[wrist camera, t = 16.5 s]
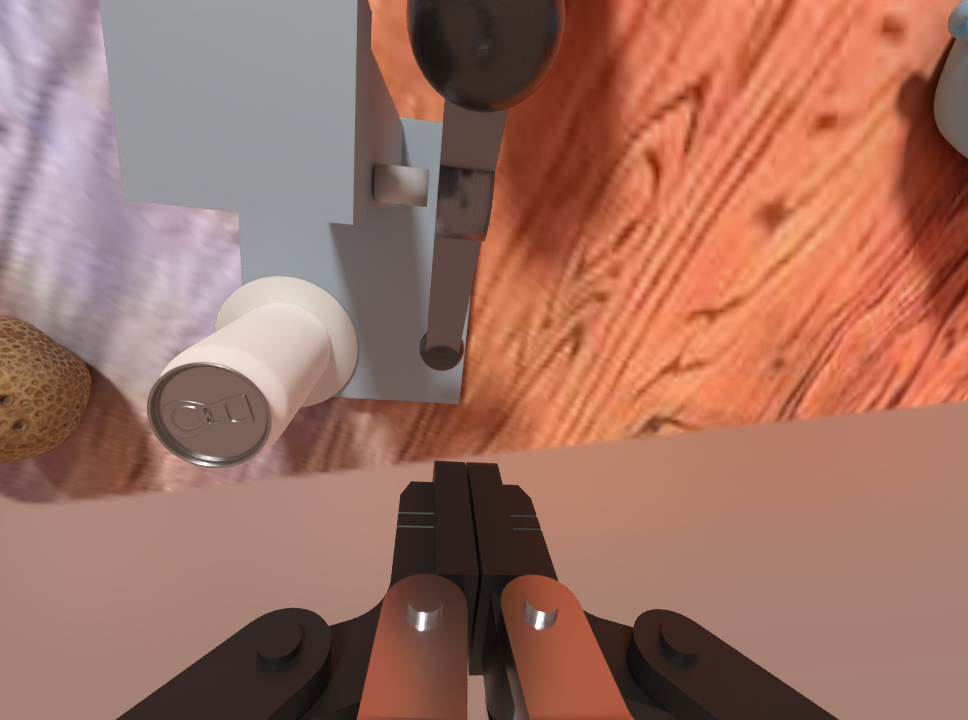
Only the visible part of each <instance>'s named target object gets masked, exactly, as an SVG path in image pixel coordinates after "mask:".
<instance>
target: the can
mask: <svg viewBox="0 0 968 720" xmlns="http://www.w3.org/2000/svg"><path fill="white" fill-rule="evenodd" d="M329 358H330V342H329V338H328V335H327V333H326V331H325V329H324V327H323V326H322V324H321V323H320V322H319V321H318V319H317V318H316V317H314V316H313V315H312V314H311V313H309V312H308V311H306V310H304V309H302V308H300V307H298V306H295V305H291V304H286V303H272V304H267V305H264V306H261V307H259V308H257V309H255V310H253V311H251V312H249V313H248V314H246V315H244V316H242V317H241V318H239V319H237V320H235V321H234V322H232V323H230V324H229V325H227V326H225V327H223V328H222V329H220V330H218V331H217V332H215V333H213V334H211V335H210V336H208V337H206V338H205V339H203V340H201V341H200V342H198V343H196V344H195V345H193V346H191V347H190V348H188V349H187V350H185V351H183V352H182V353H180V354H179V355H178V356H176V357H175V358H174V359H173V360H172V361H171V362H170V363H169V364H168V365H167V366H166V368H165V369H164V370H163V372H162V374H161V376H160V378H159V379H158V380H157V382H156V383H155V384H154V386H153V388H152V389H151V392H150V394H149V397H148V402H147V415H148V420H149V423H150V426H151V428H152V430H153V432H154V434H155V436H156V437H157V438H158V440H159V441H160V442H161V443H162V444H163V446H164V447H166V448H167V449H168V450H169V451H170V452H171V453H173V454H174V455H176V456H177V457H179V458H181V459H183V460H185V461H187V462H189V463H192V464H195V465H199V466H203V467H210V468H225V467H231V466H235V465H238V464H241V463H244V462H246V461H248V460H249V459H251V458H252V457H254V456H255V455H256V454H258V453H260V452H262V451H264V450H265V449H267V448H268V447H270V446H271V445H272V444H273V443H274V442H275V441H276V440H277V439H278V438H279V437H280V436H281V435H282V433H283V432H284V431H285V429H286V428H287V426H288V425H289V423H290V422H291V421H292V419H293V418H294V416H295V415H296V413H297V412H298V410H299V409H300V407H301V406H302V404H303V403H304V401H305V400H306V398H307V397H308V395H309V394H310V392H311V391H312V389H313V388H314V386H315V384H316V383H317V381H318V380H319V378H320V377H321V375H322V374H323V372H324V370H325V369H326V367H327V364H328V362H329Z"/></svg>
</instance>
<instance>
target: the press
mask: <svg viewBox="0 0 968 720" xmlns="http://www.w3.org/2000/svg"><path fill="white" fill-rule="evenodd" d="M99 6H100V14H101V21H102V29H103V37H104V45H105V52H106V60H107V68H108V76H109V84H110V91H111V99H112V107H113V115H114V122H115V130H116V138H117V146H118V153H119V161H120V169H121V177H122V185H123V192H124V200H129V201H138V202H147V203H157V204H166V205H175V206H184V207H193V208H203V209H212V210H221V211H230V212H238V216H239V234H240V252H241V270H242V287H240V288H239V289H238V290H236V291H235V292H234V293H232V295H231V296H230V297H229V298H228V299H227V300H226V301H225V303H224V304H223V306H222V307H221V309H220V311H219V313H218V316H217V319H216V323H215V329H214V333H215V332H217V331H218V330H220V329H222V328H223V327H225V326H227V325H229V324H230V323H232V322H234V321H235V320H237V319H239V318H241V317H242V316H244V315H246V314H248V313H249V312H251V311H253V310H255V309H257V308H259V307H261V306H264V305H267V304H272V303H286V304H291V305H295V306H298V307H300V308H302V309H304V310H306V311H308V312H309V313H311V314H312V315H313V316H314V317H316V318H317V319H318V321H319V322H320V323H321V324H322V326H323V327H324V329H325V331H326V333H327V335H328V338H329V342H330V358H329V362H328V364H327V367H326V369H325V370H324V372H323V374H322V375H321V377H320V378H319V380H318V381H317V383H316V384H315V386H314V388H313V389H312V391H311V392H310V394H309V395H308V397H307V398H306V400H305V401H304V403H303V404H302V406H301V407H308V406H312V405H316V404H318V403H321V402H323V401H325V400H327V399H329V398H331V397H344V398H360V399H377V400H393V401H410V402H426V403H443V404H459V402H460V393H461V383H462V373H463V364H464V354H465V344H466V334H467V325H468V315H469V305H470V300H469V305H468V310H467V315H466V320H465V325H464V330H463V335H462V340H463V343H464V354H463V357H462V359H461V361H460V362H459V364H458V365H457V366H455V367H454V368H452V369H450V370H446V371H437V370H434V369H432V368H430V367H428V366H427V365H426V364H425V363H424V362H423V360H422V358H421V356H420V351H419V346H420V341H421V339H422V337H423V336H424V334H425V333H426V332H427V325H428V312H429V299H430V286H431V273H432V260H433V247H434V234H435V221H436V207H437V194H438V180H439V167H440V154H441V142H442V129H443V123H439V122H432V121H425V120H418V119H411V118H403V117H399V115H398V112H397V110H396V107H395V105H394V103H393V100H392V98H391V96H390V93H389V91H388V88H387V86H386V84H385V81H384V79H383V76H382V74H381V72H380V69H379V67H378V64H377V62H376V60H375V57H374V55H373V53H372V50H371V21H372V12H371V9H370V6H369V3H368V0H99ZM301 407H300V408H301Z"/></svg>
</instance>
